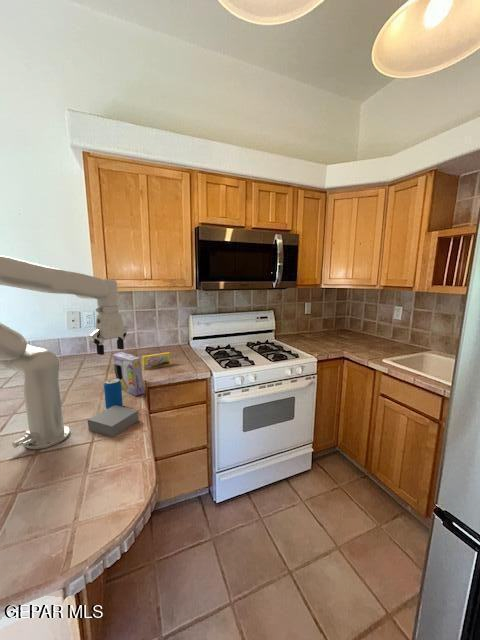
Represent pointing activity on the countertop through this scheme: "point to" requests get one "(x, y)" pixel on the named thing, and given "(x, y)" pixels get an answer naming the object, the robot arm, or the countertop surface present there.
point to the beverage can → (113, 393)
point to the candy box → (156, 360)
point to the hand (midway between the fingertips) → (111, 351)
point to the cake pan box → (129, 373)
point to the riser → (113, 420)
